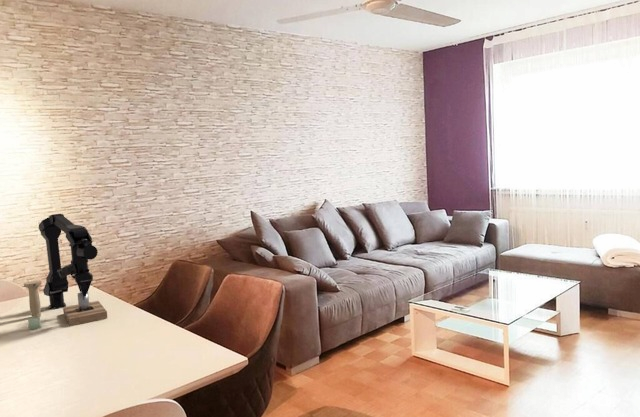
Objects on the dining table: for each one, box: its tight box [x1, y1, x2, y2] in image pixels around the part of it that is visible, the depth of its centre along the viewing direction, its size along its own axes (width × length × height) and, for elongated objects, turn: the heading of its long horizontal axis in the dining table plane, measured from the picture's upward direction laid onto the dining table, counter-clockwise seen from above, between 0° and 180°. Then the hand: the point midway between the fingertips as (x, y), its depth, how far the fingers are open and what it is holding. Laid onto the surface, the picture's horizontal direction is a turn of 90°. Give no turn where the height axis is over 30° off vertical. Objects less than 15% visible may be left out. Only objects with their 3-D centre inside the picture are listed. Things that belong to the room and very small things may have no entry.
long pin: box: [77, 291, 90, 312], centre depth 203 cm, size 4×4×10 cm
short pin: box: [27, 316, 42, 331], centre depth 191 cm, size 4×4×4 cm
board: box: [62, 300, 108, 327], centre depth 203 cm, size 20×14×3 cm
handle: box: [23, 280, 42, 318], centre depth 205 cm, size 5×6×15 cm
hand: (83, 293), depth 203 cm, fingers open, 9 cm apart
